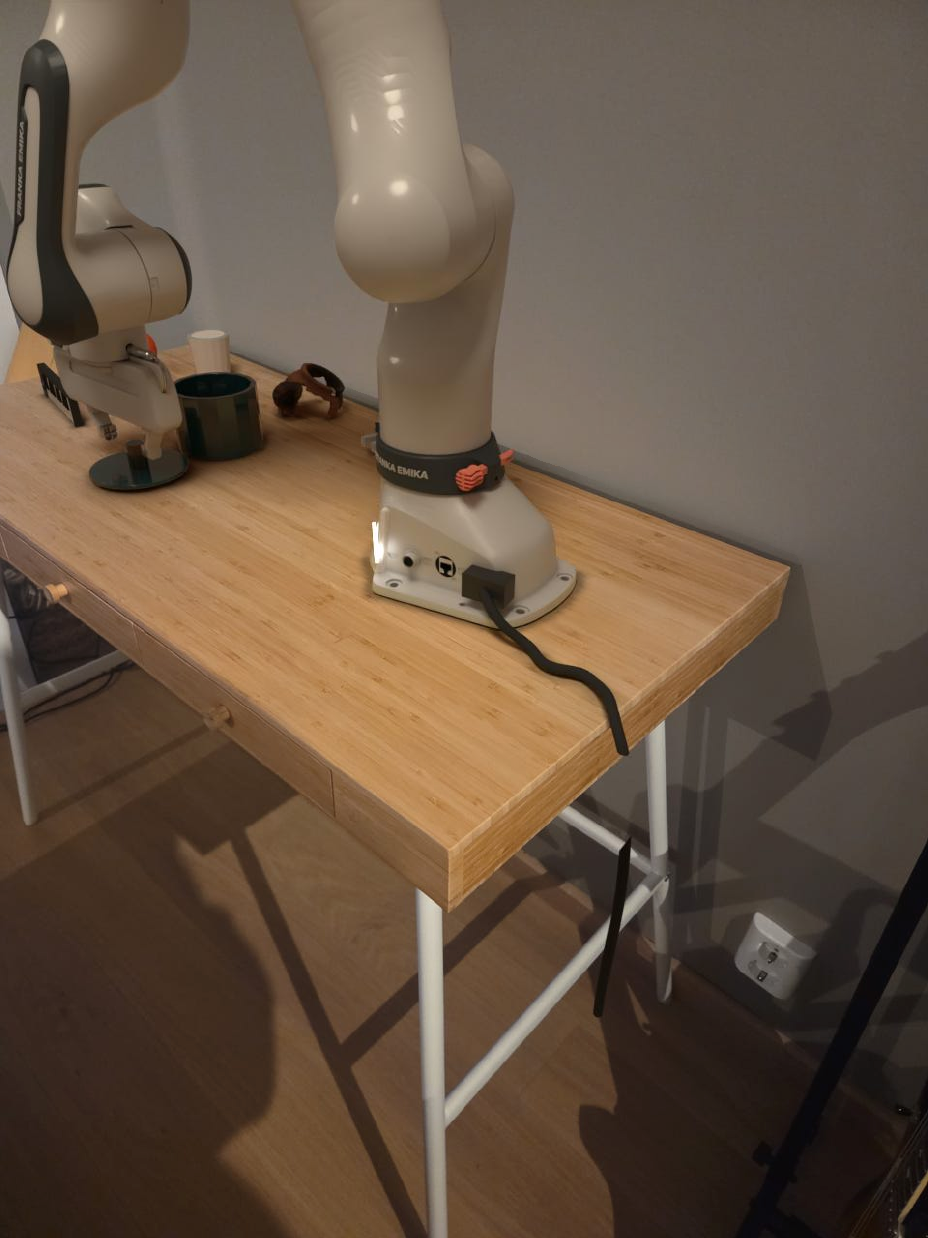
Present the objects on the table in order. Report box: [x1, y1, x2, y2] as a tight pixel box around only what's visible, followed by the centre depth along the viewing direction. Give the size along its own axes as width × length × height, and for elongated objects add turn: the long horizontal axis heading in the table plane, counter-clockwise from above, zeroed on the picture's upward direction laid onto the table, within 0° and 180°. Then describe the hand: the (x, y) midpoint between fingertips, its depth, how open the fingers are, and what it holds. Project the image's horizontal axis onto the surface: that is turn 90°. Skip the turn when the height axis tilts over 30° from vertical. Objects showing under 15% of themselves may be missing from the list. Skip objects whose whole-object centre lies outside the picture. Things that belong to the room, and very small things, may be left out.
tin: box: [173, 371, 264, 462], centre depth 114 cm, size 11×11×8 cm
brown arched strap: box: [271, 362, 346, 419], centre depth 125 cm, size 12×10×8 cm
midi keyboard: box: [35, 362, 84, 428], centre depth 126 cm, size 18×1×5 cm, turn 36°
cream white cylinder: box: [186, 328, 232, 374], centre depth 140 cm, size 7×7×7 cm
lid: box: [88, 438, 190, 490], centre depth 106 cm, size 12×12×4 cm
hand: (130, 447), depth 105 cm, fingers open, 8 cm apart
